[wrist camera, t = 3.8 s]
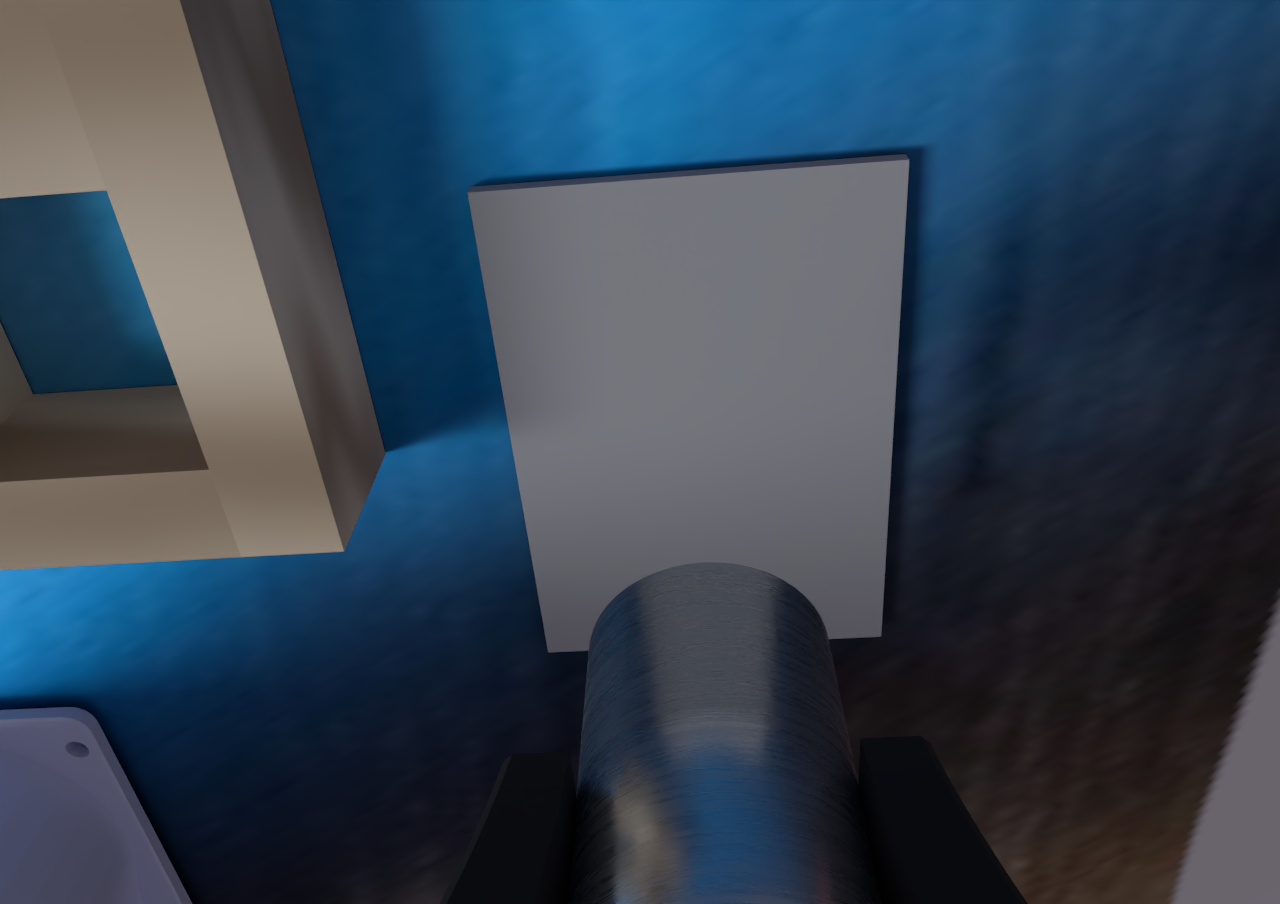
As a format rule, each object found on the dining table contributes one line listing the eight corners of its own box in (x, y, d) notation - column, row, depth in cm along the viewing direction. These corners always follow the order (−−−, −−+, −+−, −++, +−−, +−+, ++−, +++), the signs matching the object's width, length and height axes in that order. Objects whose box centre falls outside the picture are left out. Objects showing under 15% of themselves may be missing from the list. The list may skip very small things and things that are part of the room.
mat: (878, 627, 22) (880, 636, 21) (549, 642, 22) (548, 652, 22) (905, 154, 16) (909, 159, 16) (470, 186, 17) (467, 192, 16)
